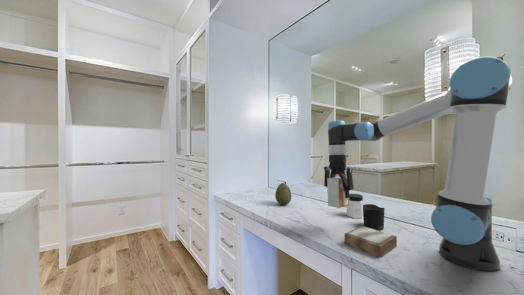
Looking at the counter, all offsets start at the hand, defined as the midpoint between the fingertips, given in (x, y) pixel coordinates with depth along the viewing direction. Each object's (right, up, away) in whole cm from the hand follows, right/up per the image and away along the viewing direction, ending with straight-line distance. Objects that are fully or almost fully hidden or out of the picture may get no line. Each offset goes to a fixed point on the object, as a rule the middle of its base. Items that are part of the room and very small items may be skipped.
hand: (338, 203), depth 98 cm
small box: (0, -1, 0) cm, 1 cm away
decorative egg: (-21, -13, +45) cm, 51 cm away
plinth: (+8, -13, -13) cm, 20 cm away
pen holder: (+19, -13, +5) cm, 24 cm away
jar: (+17, -13, +21) cm, 30 cm away
